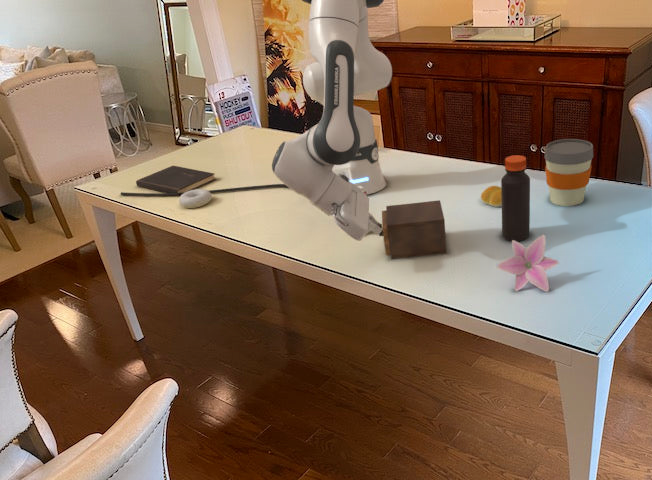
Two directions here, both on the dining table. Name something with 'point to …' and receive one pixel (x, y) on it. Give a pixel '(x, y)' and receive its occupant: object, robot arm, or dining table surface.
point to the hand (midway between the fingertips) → (380, 230)
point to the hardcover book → (176, 180)
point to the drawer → (385, 232)
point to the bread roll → (492, 196)
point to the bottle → (515, 199)
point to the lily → (529, 264)
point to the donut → (195, 198)
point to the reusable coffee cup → (568, 170)
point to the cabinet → (416, 229)
